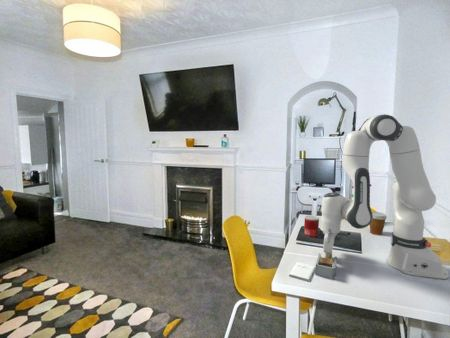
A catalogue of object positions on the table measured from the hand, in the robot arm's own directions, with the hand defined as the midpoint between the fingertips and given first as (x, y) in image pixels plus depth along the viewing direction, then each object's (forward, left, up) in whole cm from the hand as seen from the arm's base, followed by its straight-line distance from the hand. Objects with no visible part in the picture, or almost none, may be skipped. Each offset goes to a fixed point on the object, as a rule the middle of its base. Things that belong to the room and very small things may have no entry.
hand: (328, 254), depth 126 cm
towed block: (0, +7, -2) cm, 8 cm away
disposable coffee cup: (-23, -48, -2) cm, 53 cm away
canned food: (+12, -27, -2) cm, 30 cm away
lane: (0, +12, -2) cm, 12 cm away
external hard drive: (+9, +18, -3) cm, 21 cm away
